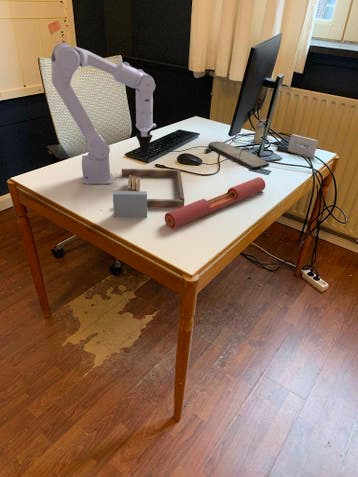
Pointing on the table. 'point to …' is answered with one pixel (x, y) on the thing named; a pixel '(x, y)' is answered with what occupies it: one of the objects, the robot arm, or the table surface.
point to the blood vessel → (213, 203)
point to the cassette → (301, 149)
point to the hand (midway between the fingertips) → (144, 149)
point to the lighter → (259, 131)
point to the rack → (160, 173)
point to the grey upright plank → (130, 204)
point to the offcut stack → (133, 183)
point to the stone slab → (237, 155)
